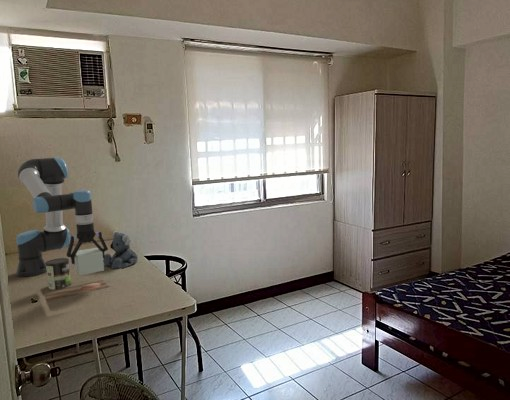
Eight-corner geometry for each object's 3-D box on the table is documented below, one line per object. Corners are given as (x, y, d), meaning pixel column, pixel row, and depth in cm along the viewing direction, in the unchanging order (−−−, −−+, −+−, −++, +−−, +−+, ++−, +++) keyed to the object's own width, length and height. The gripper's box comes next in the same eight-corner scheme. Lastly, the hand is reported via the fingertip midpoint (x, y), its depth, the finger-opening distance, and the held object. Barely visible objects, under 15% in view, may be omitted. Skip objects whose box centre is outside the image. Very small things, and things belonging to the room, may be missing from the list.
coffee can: (75, 284, 205) (72, 257, 203) (65, 292, 195) (62, 263, 193) (55, 285, 205) (52, 258, 203) (44, 292, 195) (41, 264, 193)
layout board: (43, 295, 191) (43, 292, 190) (103, 282, 206) (102, 279, 205) (47, 304, 180) (47, 300, 180) (110, 289, 195) (109, 286, 195)
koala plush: (101, 265, 238) (98, 232, 235) (130, 258, 250) (127, 227, 248) (115, 271, 225) (112, 236, 223) (144, 263, 238) (141, 230, 235)
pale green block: (74, 269, 197) (73, 251, 196) (98, 264, 203) (96, 247, 202) (79, 275, 188) (77, 256, 187) (104, 270, 194) (102, 252, 193)
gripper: (59, 228, 182) (64, 274, 186) (112, 220, 195) (116, 264, 199) (56, 225, 189) (61, 270, 192) (108, 218, 202) (111, 261, 205)
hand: (89, 267), depth 195 cm, fingers closed on pale green block, 11 cm apart
